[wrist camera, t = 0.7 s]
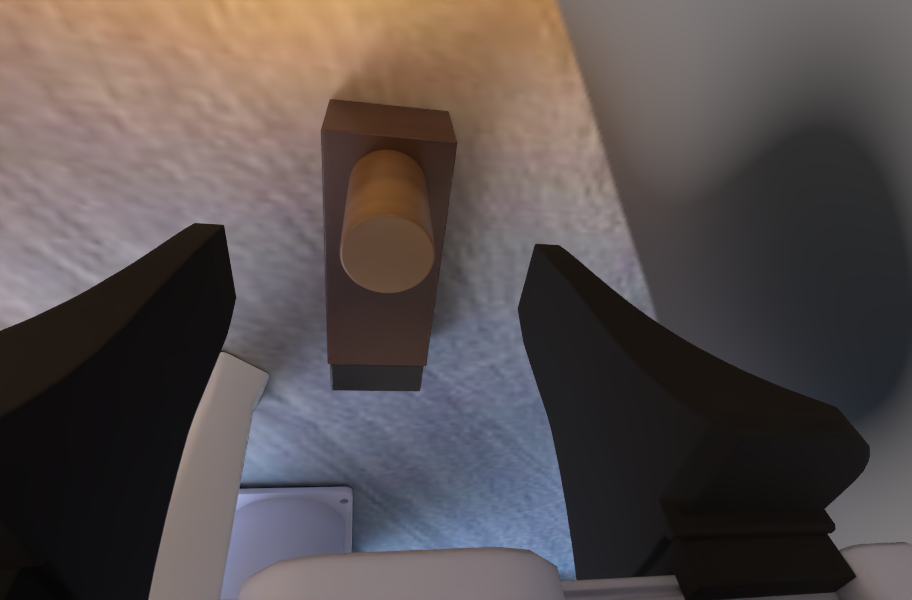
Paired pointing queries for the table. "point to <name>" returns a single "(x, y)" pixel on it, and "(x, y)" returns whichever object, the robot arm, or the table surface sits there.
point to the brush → (383, 239)
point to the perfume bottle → (208, 486)
